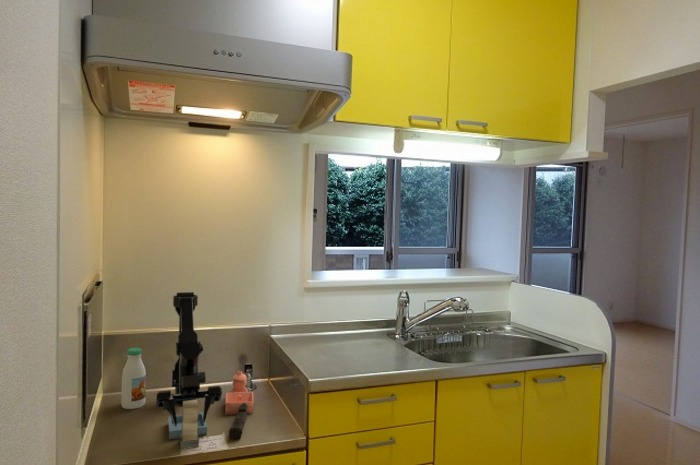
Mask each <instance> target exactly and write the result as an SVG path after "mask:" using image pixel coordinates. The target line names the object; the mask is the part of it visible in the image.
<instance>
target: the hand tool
mask: <svg viewBox="0 0 700 465" xmlns="http://www.w3.org/2000/svg"><path fill="white" fill-rule="evenodd" d="M247 414H248V413H247V405H246V403H244V404H242V405H241V406H240V407H239V411H238V414H236V417H235V419H234V422H233V424H232V427H231V428H229V431H228V438H229V440H240V439H241V438H242V434H243V430H244V427H245V423H246V421H247V417H248V415H247Z"/></svg>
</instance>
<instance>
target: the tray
mask: <svg viewBox="0 0 700 465" xmlns="http://www.w3.org/2000/svg"><path fill="white" fill-rule="evenodd" d="M176 419H177V426H175V425H174V423H173V420H172V418H171V416H170V415H169V416H168V422H167V424H168V437H169V438H168V439H169V440H177V439H180V435H182V419H183V414H180V415H179V414H176ZM197 433H198V437H200V436H207V435H208V425H207V421H206V420H205V423H203V412H198V422H197Z"/></svg>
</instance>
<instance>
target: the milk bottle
mask: <svg viewBox="0 0 700 465" xmlns="http://www.w3.org/2000/svg"><path fill="white" fill-rule="evenodd" d="M142 350H143V349H142V348H140V347H131V348H129V349H127V351H126V352H127V353H126V354H127V355H126V357H127V361H126V363H125V365H124V367H123V368H122V372H121V374H122V375H121V400H120V401H121V408H123V409H125V410H136V409H139V408H142V407H143V406H145V404H146V394H147V393H146V388H147V387H146V386H147V378H146V377H147V372H146V367H145V365H144V362H143V360H142V352H143V351H142Z"/></svg>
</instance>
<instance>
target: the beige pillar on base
mask: <svg viewBox="0 0 700 465" xmlns="http://www.w3.org/2000/svg"><path fill="white" fill-rule="evenodd" d="M198 413H199V403H198V399H196V400H188V401H183V405H182V415H183V419H182V435H180V438H179V444H180V450H185V449H184V448H186V449H189V448H188V447H193V448H199V447H200V438H199V436H198V433H197V422H198ZM198 446H199V447H198Z"/></svg>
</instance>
